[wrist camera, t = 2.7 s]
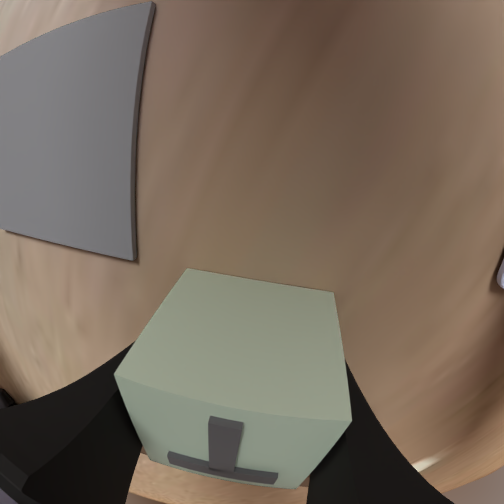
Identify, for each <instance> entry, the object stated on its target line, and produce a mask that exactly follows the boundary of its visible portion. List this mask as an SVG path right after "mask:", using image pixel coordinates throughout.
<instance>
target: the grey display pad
mask: <svg viewBox="0 0 504 504" xmlns="http://www.w3.org/2000/svg"><path fill="white" fill-rule="evenodd" d="M155 6H156V4H155V3H154V2H152V1H151V2H145V3H140V4H135V5H131V6H126V7H122V8H118V9H114V10H110V11H107V12H103V13H100V14H96V15H93V16H90V17H87V18H84V19H81V20H78V21H75V22H73V23H70V24H67V25H65V26H62V27H60V28H57V29H55V30H52V31H50V32H48V33H45V34H43V35H41V36H39V37H37V38H34V39H32V40H30V41H28V42H26V43H24V44H22V45H20V46H18V47H17V48H15V49H13V50H11V51H9V52H7V53H6V54H4V55H2V56H1V57H0V229H3V230H7V231H11V232H15V233H18V234H22V235H26V236H30V237H34V238H38V239H42V240H46V241H50V242H54V243H58V244H62V245H66V246H70V247H74V248H79V249H83V250H87V251H91V252H96V253H100V254H105V255H109V256H113V257H118V258H122V259H127V260H132V261H133V260H134V259H136V258H137V250H136V228H135V160H136V139H137V124H138V112H139V102H140V93H141V84H142V77H143V69H144V63H145V56H146V50H147V44H148V39H149V34H150V29H151V24H152V19H153V14H154V10H155Z"/></svg>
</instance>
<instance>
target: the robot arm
mask: <svg viewBox="0 0 504 504" xmlns="http://www.w3.org/2000/svg"><path fill="white" fill-rule="evenodd" d="M497 283H498V284H499V286H500V287H501V288H503V289H504V259H503V261H502V264H501V267H500V269H499V271H498V275H497ZM134 343H135V342H133V343H132V344H131V345H129V346H128V347H127V348H125V349H124V350H123V351H121V352H120V353H119V354H117V355H116V356H115V357H113V358H112V359H110V360H109V361H107V362H106V363H104V364H103V365H101V366H100V367H98V368H97V369H95V370H94V371H92V372H91V373H89V374H88V375H86V376H84V377H82V378H81V379H79V380H77V381H75V382H73V383H72V384H70V385H68V386H66V387H64V388H62V389H59V390H57V391H55V392H52V393H50V394H48V395H45V396H43V397H40V398H38V399H35V400H32V401H29V402H26V403H22V404H19V405H15V406H11V407H7V408H1V409H0V504H125V502H126V499H127V494H128V491H129V487H130V483H131V480H132V477H133V473H134V470H135V467H136V464H137V461H138V458H139V455H140V452H141V449H142V446H143V445H142V443H141V440H140V438H139V436H138V434H137V432H136V430H135V427H134V425H133V423H132V420H131V418H130V416H129V413H128V411H127V408H126V406H125V403H124V401H123V398H122V395H121V393H120V390H119V387H118V385H117V382H116V379H115V376H114V373H115V372H116V370H117V368H118V367H119V365H120V364H121V362H122V361H123V359H124V358H125V356H126V355H127V353H128V352H129V350H130V349H131V347H132V346H133V344H134ZM345 365H346V373H347V380H348V388H349V397H350V406H351V415H352V422H351V423H350V424H349V426H348V427H347V429H346V430H345V431H344V433H343V434H342V435H341V437H340V438H339V439H338V441H337V442H336V443H335V444H334V446H333V447H332V448H331V449H330V451H329V452H328V453H327V454H326V456H325V457H324V458H323V459H322V461H321V462H320V463H319V464H318V465H317V466H316V468H315V469H314V470H313V471H312V472H311V473H310V479H309V488H308V496H307V503H306V504H454V503H453V502H452V501H450V500H449V499H447V498H446V497H445V496H443V495H442V494H441V493H440V492H439V491H437V490H436V489H435V488H434V487H433V486H432V485H430V484H429V483H428V482H427V481H426V480H425V479H424V478H423V477H422V476H421V475H420V473H419V472H418V471H417V470H416V469H415V468H414V467H413V466H412V465H411V464H410V463H409V462H408V461H407V459H406V458H405V457H404V456H403V455H402V453H401V452H400V451H399V450H398V448H397V447H396V446H395V444H394V443H393V442H392V440H391V439H390V438H389V436H388V435H387V433H386V432H385V430H384V429H383V427H382V426H381V424H380V423H379V421H378V420H377V418H376V416H375V415H374V413H373V411H372V410H371V408H370V406H369V404H368V403H367V401H366V399H365V397H364V396H363V394H362V392H361V390H360V388H359V386H358V384H357V383H356V381H355V379H354V377H353V375H352V373H351V371H350V369H349V367H348V365H347V363H346V360H345Z"/></svg>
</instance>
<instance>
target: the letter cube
mask: <svg viewBox="0 0 504 504" xmlns="http://www.w3.org/2000/svg"><path fill="white" fill-rule="evenodd" d="M114 376H115V379H116V382H117V385H118V387H119V390H120V393H121V395H122V398H123V401H124V403H125V406H126V408H127V411H128V413H129V416H130V418H131V420H132V423H133V425H134V427H135V430H136V432H137V434H138V436H139V438H140V440H141V443H142V445H143V447H144V449H145V451H146V453H147V455H148V457H149V459H150V460H151V461H154V462H157V463H160V464H163V465H167V466H170V467H173V468H176V469H180V470H183V471H187V472H191V473H195V474H199V475H203V476H207V477H211V478H216V479H221V480H226V481H231V482H237V483H243V484H249V485H257V486H264V487H274V488H285V489H297V487H298V486H299V485H300V484H301V483H302V482H303V481H304V480H305V479H306V478H307V477H308V476H309V474H310V473H311V472H312V471H313V470H314V469H315V468H316V466H317V465H318V464H319V463H320V462H321V461H322V459H323V458H324V457H325V456H326V454H327V453H328V452H329V451H330V449H331V448H332V447H333V446H334V444H335V443H336V442H337V441H338V439H339V438H340V437H341V435H342V434H343V433H344V431H345V430H346V429H347V427H348V426H349V424H350V423H351V422H352V415H351V406H350V397H349V388H348V380H347V373H346V365H345V358H344V352H343V345H342V339H341V332H340V326H339V320H338V315H337V309H336V304H335V298H334V293H333V292H329V291H322V290H316V289H309V288H303V287H296V286H290V285H284V284H277V283H271V282H265V281H259V280H253V279H247V278H241V277H235V276H230V275H224V274H218V273H213V272H207V271H201V270H196V269H190V268H187V269H186V270H185V271H184V273H183V274H182V276H181V277H180V278H179V280H178V281H177V282H176V284H175V285H174V287H173V288H172V289H171V291H170V292H169V294H168V295H167V296H166V298H165V299H164V301H163V302H162V304H161V305H160V306H159V308H158V309H157V311H156V312H155V314H154V315H153V316H152V318H151V319H150V321H149V322H148V324H147V325H146V327H145V328H144V330H143V331H142V332H141V334H140V335H139V337H138V338H137V340H136V341H135V343H134V344H133V346H132V347H131V349H130V350H129V352H128V353H127V355H126V356H125V358H124V359H123V361H122V362H121V364H120V365H119V367H118V368H117V370H116V372H115V373H114Z"/></svg>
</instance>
